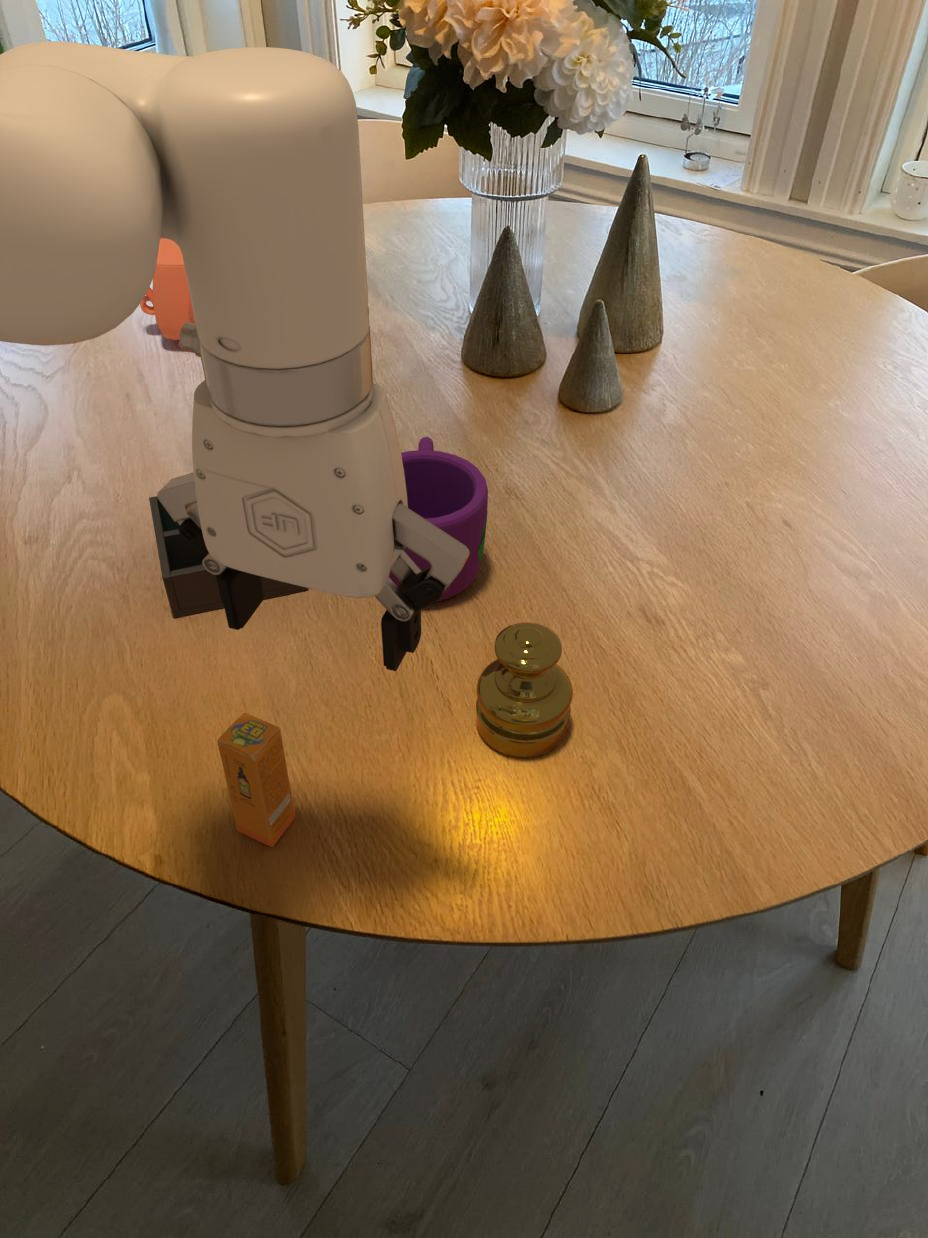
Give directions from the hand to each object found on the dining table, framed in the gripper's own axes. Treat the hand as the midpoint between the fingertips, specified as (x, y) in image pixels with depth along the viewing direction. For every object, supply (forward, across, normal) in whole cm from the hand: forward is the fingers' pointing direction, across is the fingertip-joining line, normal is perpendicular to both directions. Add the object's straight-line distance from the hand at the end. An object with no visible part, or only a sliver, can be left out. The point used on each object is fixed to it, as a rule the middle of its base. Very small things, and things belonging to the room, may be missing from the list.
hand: (322, 633), depth 55 cm
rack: (+20, -22, +24) cm, 38 cm away
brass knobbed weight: (+20, +9, +14) cm, 26 cm away
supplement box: (+20, -6, -1) cm, 21 cm away
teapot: (+20, -47, +64) cm, 82 cm away
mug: (+20, -6, +32) cm, 38 cm away
